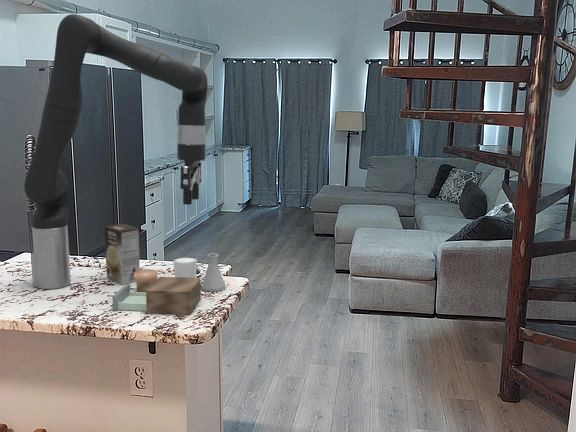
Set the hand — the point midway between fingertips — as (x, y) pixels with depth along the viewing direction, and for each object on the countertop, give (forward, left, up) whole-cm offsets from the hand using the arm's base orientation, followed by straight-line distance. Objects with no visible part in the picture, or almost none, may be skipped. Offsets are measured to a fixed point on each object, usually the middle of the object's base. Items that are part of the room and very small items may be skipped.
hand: (191, 201), depth 157 cm
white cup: (-4, +6, -26) cm, 27 cm away
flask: (+5, +2, -26) cm, 26 cm away
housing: (-2, -14, -25) cm, 29 cm away
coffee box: (-23, +7, -26) cm, 35 cm away
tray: (-10, -14, -25) cm, 30 cm away
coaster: (-13, -3, -22) cm, 25 cm away
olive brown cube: (-13, -3, -25) cm, 28 cm away
